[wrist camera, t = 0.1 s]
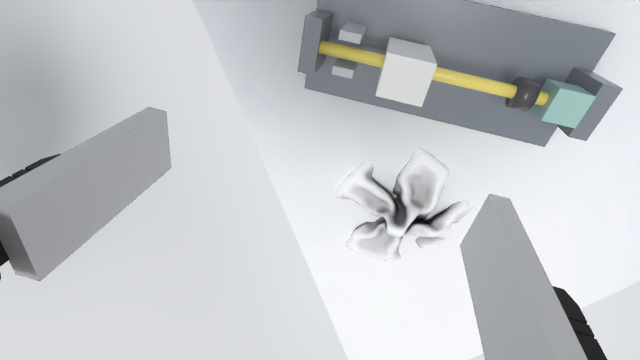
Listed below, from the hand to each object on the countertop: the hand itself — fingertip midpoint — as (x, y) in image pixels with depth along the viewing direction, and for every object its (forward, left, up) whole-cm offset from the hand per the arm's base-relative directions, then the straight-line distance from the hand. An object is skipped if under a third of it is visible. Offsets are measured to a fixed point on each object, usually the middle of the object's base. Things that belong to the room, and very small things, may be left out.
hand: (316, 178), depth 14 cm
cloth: (+20, +11, -29) cm, 36 cm away
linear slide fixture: (0, +8, -28) cm, 29 cm away
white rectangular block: (0, +4, -24) cm, 25 cm away
